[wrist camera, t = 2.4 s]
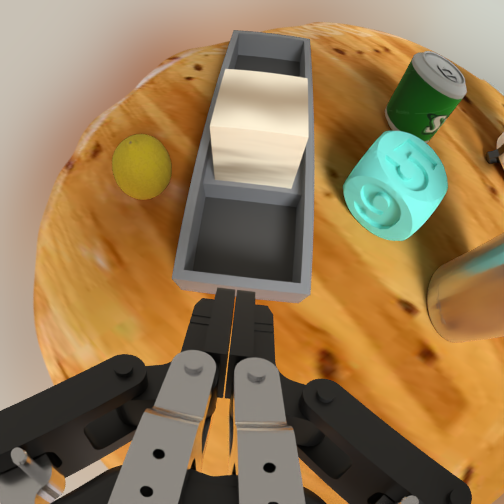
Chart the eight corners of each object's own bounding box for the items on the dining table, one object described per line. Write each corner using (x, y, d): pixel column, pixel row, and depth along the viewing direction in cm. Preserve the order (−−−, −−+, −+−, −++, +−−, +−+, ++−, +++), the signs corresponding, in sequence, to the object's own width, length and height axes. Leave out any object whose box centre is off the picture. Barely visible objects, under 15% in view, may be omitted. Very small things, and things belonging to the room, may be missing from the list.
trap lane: (298, 303, 27) (310, 294, 23) (181, 289, 27) (171, 278, 23) (304, 62, 38) (309, 39, 33) (233, 53, 38) (233, 30, 33)
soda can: (399, 150, 33) (444, 87, 22) (372, 107, 36) (404, 43, 24) (436, 146, 34) (481, 92, 23) (410, 107, 37) (445, 51, 25)
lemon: (130, 169, 30) (107, 122, 23) (179, 164, 31) (165, 114, 23) (124, 214, 29) (94, 173, 21) (176, 211, 29) (159, 166, 22)
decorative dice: (420, 205, 31) (457, 171, 24) (389, 252, 29) (430, 222, 22) (369, 160, 33) (397, 117, 25) (332, 201, 31) (359, 157, 23)
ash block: (291, 188, 27) (308, 137, 20) (214, 179, 27) (209, 126, 20) (293, 131, 29) (307, 78, 22) (226, 123, 29) (225, 68, 22)
